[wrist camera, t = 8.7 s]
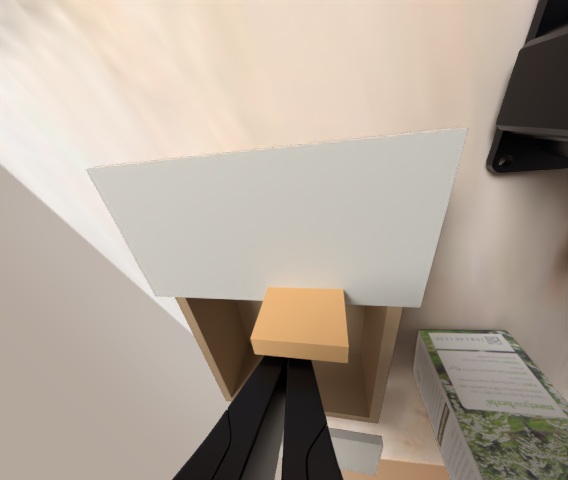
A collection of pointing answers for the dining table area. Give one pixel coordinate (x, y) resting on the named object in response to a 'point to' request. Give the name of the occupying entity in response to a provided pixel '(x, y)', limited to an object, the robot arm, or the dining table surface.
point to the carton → (330, 375)
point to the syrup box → (491, 407)
